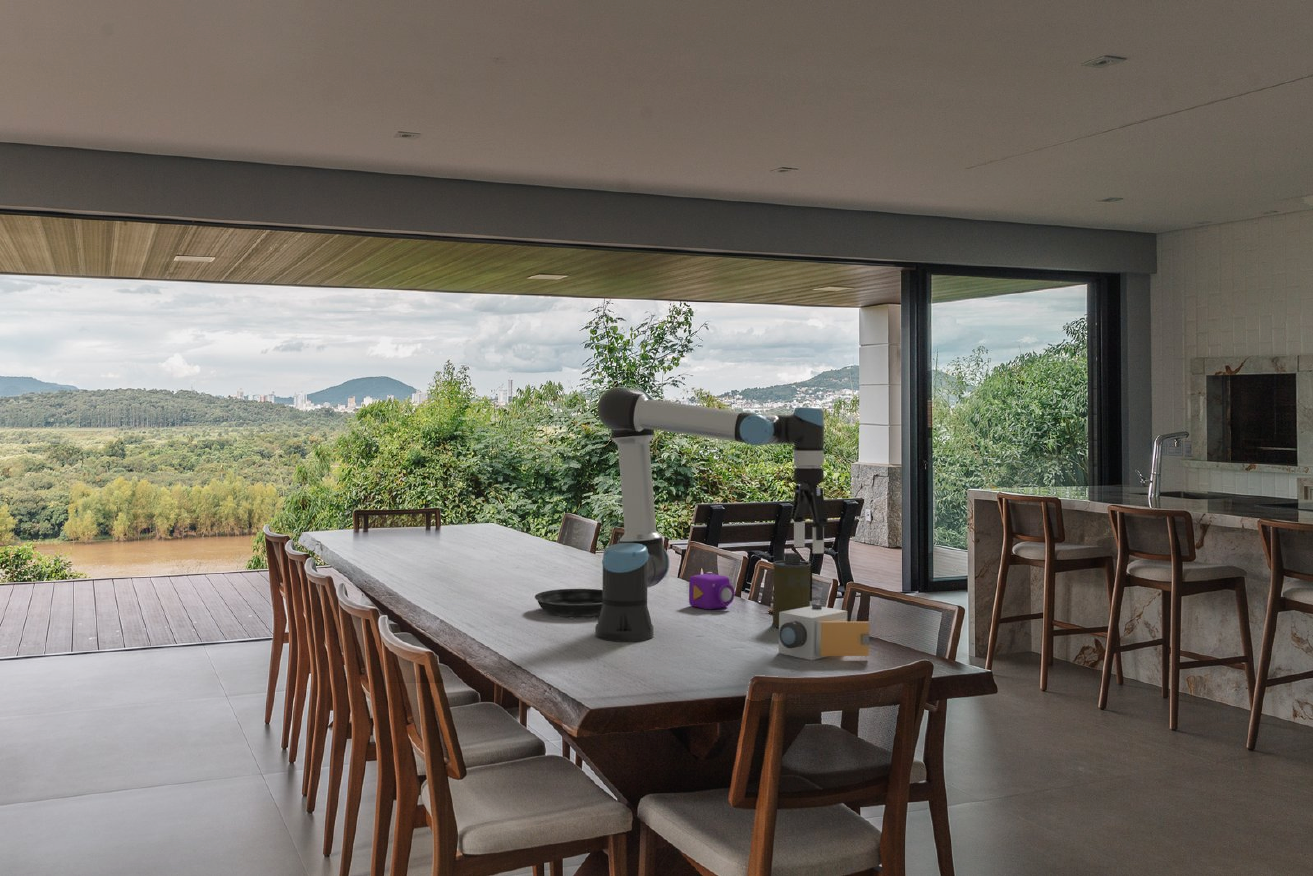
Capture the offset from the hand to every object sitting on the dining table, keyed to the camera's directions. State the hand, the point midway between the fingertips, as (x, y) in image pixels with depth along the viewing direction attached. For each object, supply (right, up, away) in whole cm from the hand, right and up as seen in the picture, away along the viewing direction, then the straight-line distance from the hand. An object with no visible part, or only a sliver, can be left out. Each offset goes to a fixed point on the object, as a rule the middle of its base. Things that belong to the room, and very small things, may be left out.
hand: (808, 550), depth 274 cm
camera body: (-2, -24, -15) cm, 28 cm away
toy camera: (-22, -22, +45) cm, 55 cm away
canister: (-2, -23, +19) cm, 30 cm away
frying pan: (-57, -22, +40) cm, 74 cm away
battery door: (+5, -23, -22) cm, 32 cm away
